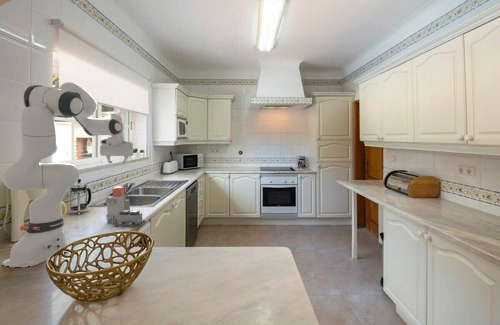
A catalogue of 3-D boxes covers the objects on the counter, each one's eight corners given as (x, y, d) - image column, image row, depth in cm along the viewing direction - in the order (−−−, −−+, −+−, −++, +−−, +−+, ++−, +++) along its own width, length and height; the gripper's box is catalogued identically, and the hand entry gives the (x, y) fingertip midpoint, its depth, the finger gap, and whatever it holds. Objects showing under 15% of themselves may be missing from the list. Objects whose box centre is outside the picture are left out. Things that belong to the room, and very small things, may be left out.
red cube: (121, 196, 157) (120, 187, 156) (112, 196, 157) (112, 187, 156) (124, 194, 162) (124, 186, 161) (116, 194, 162) (116, 186, 161)
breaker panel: (134, 227, 145) (133, 216, 144) (114, 226, 146) (113, 216, 146) (145, 220, 157) (144, 211, 156) (126, 220, 158) (126, 210, 157)
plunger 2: (136, 222, 149) (135, 212, 148) (129, 222, 149) (129, 211, 149) (139, 220, 153) (139, 210, 152) (133, 220, 153) (133, 210, 153)
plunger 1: (126, 222, 149) (126, 211, 149) (120, 221, 150) (119, 211, 149) (130, 220, 153) (130, 210, 153) (124, 219, 154) (123, 209, 153)
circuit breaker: (131, 215, 167) (130, 193, 166) (118, 222, 153) (117, 198, 152) (120, 215, 168) (120, 193, 167) (106, 222, 154) (105, 197, 153)
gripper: (135, 140, 159) (136, 163, 160) (104, 140, 161) (105, 162, 162) (129, 140, 152) (130, 163, 153) (97, 140, 155) (98, 163, 156)
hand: (117, 163), depth 158 cm, fingers open, 8 cm apart
